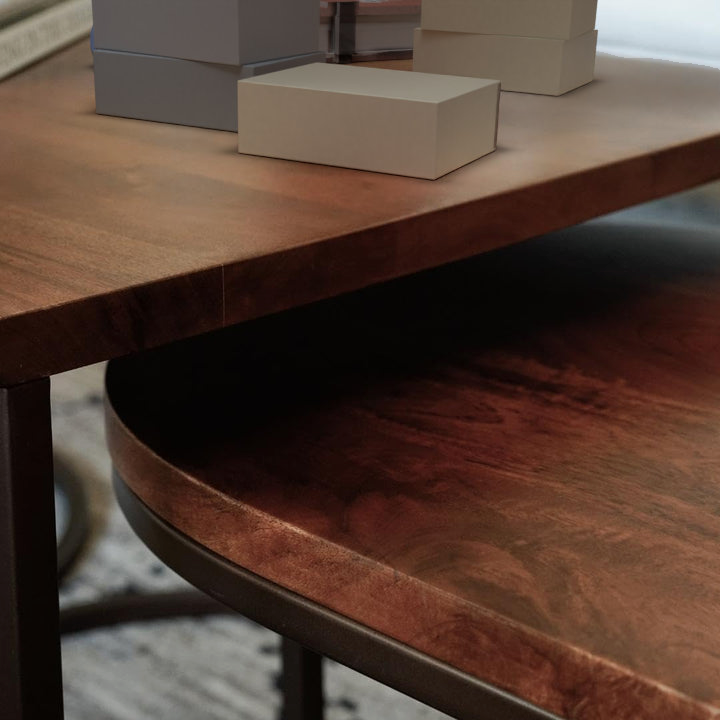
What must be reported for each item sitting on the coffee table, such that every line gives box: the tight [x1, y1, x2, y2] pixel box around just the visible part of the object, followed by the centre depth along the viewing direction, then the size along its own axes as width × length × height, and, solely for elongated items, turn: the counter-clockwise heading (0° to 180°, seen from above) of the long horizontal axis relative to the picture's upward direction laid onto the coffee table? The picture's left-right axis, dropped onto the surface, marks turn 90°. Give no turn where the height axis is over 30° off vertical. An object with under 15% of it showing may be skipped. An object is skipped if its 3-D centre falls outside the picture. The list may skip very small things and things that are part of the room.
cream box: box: [237, 62, 501, 181], centre depth 66 cm, size 12×9×4 cm
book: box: [319, 0, 422, 64], centre depth 106 cm, size 26×18×5 cm
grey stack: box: [91, 0, 326, 133], centre depth 75 cm, size 12×10×8 cm
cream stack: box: [411, 0, 599, 97], centre depth 91 cm, size 12×10×8 cm
